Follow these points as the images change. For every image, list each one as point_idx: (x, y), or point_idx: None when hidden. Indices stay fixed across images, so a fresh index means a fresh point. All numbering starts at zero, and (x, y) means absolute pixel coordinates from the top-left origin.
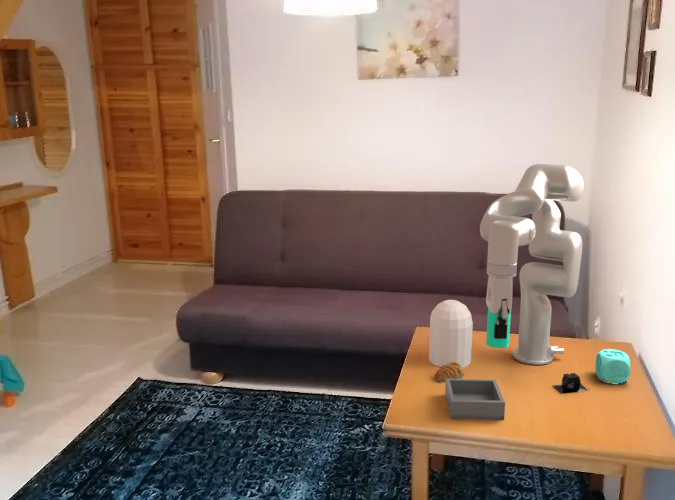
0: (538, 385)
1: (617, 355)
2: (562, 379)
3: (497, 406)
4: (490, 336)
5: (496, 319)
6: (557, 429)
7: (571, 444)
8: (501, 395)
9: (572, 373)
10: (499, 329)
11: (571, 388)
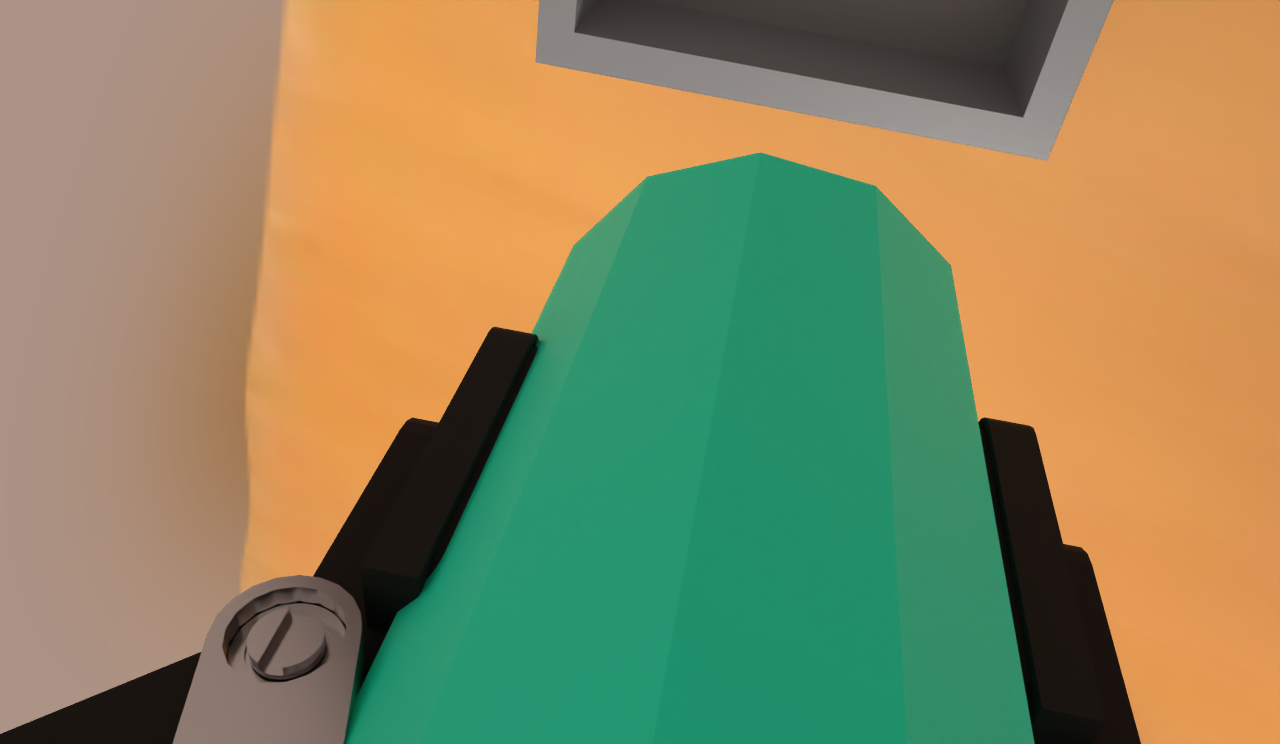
0: (1077, 476)
1: None
2: None
3: None
4: (607, 284)
5: (263, 725)
6: (442, 315)
7: (273, 309)
8: (682, 83)
9: None
10: (349, 538)
11: None
